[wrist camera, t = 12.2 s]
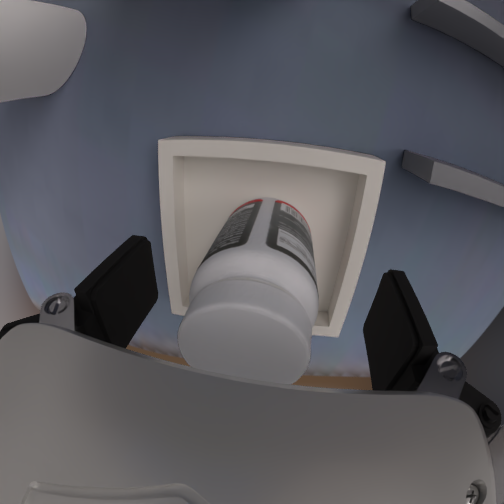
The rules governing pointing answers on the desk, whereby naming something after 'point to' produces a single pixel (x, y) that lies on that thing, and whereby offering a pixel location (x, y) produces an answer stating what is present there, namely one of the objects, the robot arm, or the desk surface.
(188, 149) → the tray
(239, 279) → the pill bottle
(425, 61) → the desk surface
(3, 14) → the cylindrical container
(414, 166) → the bay
